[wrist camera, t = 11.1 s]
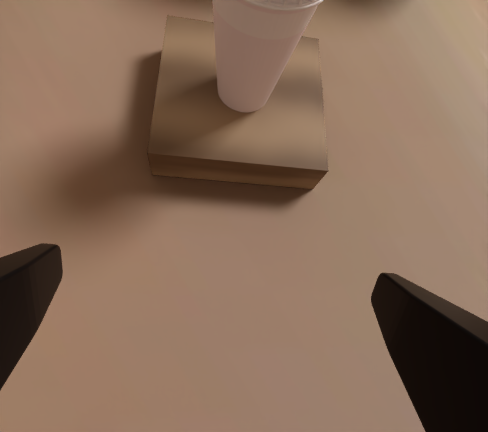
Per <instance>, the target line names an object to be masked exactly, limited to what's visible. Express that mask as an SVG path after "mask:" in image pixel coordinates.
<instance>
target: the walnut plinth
mask: <svg viewBox="0 0 488 432" xmlns="http://www.w3.org/2000/svg"><path fill="white" fill-rule="evenodd" d="M147 154H148V159H149V163H150V167H151V171H152V175H161V176H172V177H183V178H194V179H206V180H217V181H228V182H239V183H250V184H261V185H272V186H284V187H295V188H306V189H313V188H314V187H315V186H316V185H317V184H318V182H319V181H320V180H321V179H322V178H323V177H324V175H325V174H326V173H327V172H328V159H327V146H326V133H325V119H324V106H323V93H322V80H321V66H320V53H319V40H318V39H316V38H309V37H303V36H301V38H300V40H299V42H298V44H297V46H296V48H295V49H294V51H293V53H292V55H291V57H290V59H289V61H288V63H287V64H286V66H285V68H284V70H283V72H282V74H281V76H280V78H279V79H278V81H277V83H276V85H275V87H274V89H273V91H272V93H271V94H270V96H269V98H268V100H267V102H266V104H265V105H264V106H263V107H262V108H260V109H259V110H257V111H254V112H239V111H235V110H233V109H231V108H229V107H228V106H227V105H225V104H224V103H223V101H222V100H221V99H220V97H219V94H218V87H217V70H216V53H215V37H214V23H213V22H207V21H201V20H194V19H188V18H182V17H175V16H169V15H167V20H166V27H165V34H164V41H163V48H162V54H161V61H160V68H159V75H158V82H157V89H156V96H155V103H154V109H153V116H152V123H151V130H150V137H149V144H148V151H147Z"/></svg>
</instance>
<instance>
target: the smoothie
mask: <svg viewBox="0 0 488 432" xmlns="http://www.w3.org/2000/svg"><path fill="white" fill-rule="evenodd" d="M323 1H324V0H212V4H213V20H214V37H215V53H216V70H217V87H218V94H219V97H220V99H221V100H222V101H223V103H224V104H225V105H227V106H228V107H229V108H231V109H233V110H235V111H239V112H254V111H257V110H259V109H260V108H262V107H263V106H264V105H265V104H266V102H267V100H268V98H269V96H270V94H271V93H272V91H273V89H274V87H275V85H276V83H277V81H278V79H279V78H280V76H281V74H282V72H283V70H284V68H285V66H286V64H287V63H288V61H289V59H290V57H291V55H292V53H293V51H294V49H295V48H296V46H297V44H298V42H299V40H300V38H301V36H302V34H303V33H304V31H305V29H306V27H307V25H308V24H309V22H310V20H311V18H312V16H313V14H314V12H315V10H316V8H317V6H318V4H320V3H321V2H323Z"/></svg>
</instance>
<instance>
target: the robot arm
mask: <svg viewBox="0 0 488 432" xmlns="http://www.w3.org/2000/svg"><path fill="white" fill-rule="evenodd" d="M62 274H63V270H62V259H61V250H60V247H59V246H58V245H55V244H44V243H43V244H38V245H35V246H33V247H30V248H27V249H24V250H21V251H18V252H15V253H12V254H10V255H7V256H4V257H1V258H0V390H1V388H2V387H3V385H4V384H5V382H6V380H7V379H8V377H9V375H10V374H11V372H12V371H13V369H14V367H15V366H16V364H17V363H18V361H19V359H20V358H21V356H22V355H23V353H24V351H25V350H26V348H27V346H28V345H29V343H30V342H31V340H32V338H33V337H34V335H35V333H36V332H37V330H38V328H39V326H40V324H41V322H42V320H43V318H44V316H45V313H46V311H47V309H48V307H49V305H50V303H51V301H52V299H53V296H54V294H55V292H56V290H57V288H58V286H59V284H60V282H61V279H62ZM371 303H372V306H373V309H374V312H375V315H376V318H377V321H378V324H379V326H380V329H381V332H382V335H383V338H384V341H385V344H386V346H387V349H388V351H389V354H390V356H391V358H392V360H393V362H394V365H395V367H396V369H397V371H398V373H399V375H400V378H401V380H402V382H403V384H404V386H405V388H406V391H407V393H408V395H409V397H410V399H411V401H412V404H413V406H414V408H415V410H416V412H417V414H418V416H419V419H420V421H421V423H422V425H423V427H424V429H425V432H488V322H487V321H485V320H483V319H481V318H479V317H477V316H476V315H474V314H472V313H470V312H468V311H466V310H464V309H462V308H460V307H458V306H456V305H454V304H452V303H451V302H449V301H447V300H445V299H443V298H441V297H439V296H437V295H435V294H433V293H431V292H429V291H428V290H426V289H424V288H422V287H420V286H418V285H416V284H414V283H412V282H410V281H408V280H406V279H404V278H403V277H401V276H399V275H397V274H394V273H381V274H380V275H379V276H378V279H377V281H376V284H375V287H374V290H373V292H372V296H371Z"/></svg>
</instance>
